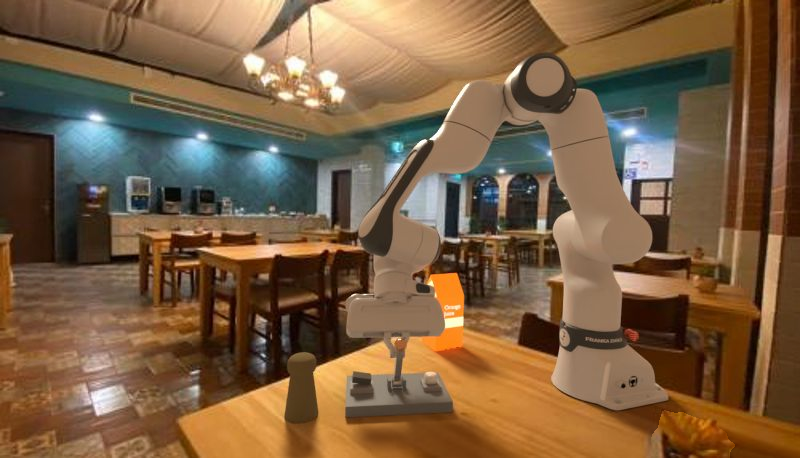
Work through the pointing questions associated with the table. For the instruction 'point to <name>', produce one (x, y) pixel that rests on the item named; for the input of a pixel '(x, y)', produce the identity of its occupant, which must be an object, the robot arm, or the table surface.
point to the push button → (430, 378)
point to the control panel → (396, 396)
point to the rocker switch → (361, 378)
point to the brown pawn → (301, 389)
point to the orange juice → (448, 311)
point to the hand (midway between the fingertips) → (397, 357)
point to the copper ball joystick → (398, 361)
